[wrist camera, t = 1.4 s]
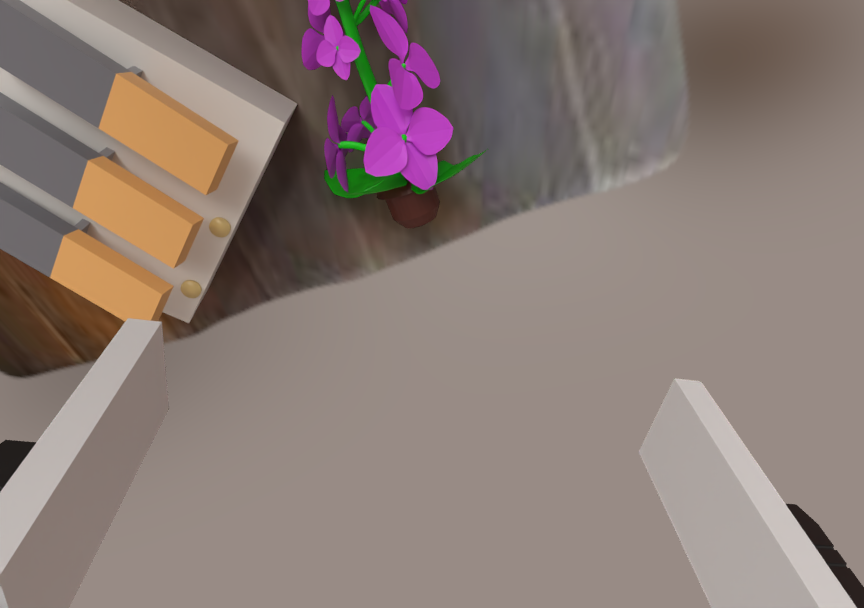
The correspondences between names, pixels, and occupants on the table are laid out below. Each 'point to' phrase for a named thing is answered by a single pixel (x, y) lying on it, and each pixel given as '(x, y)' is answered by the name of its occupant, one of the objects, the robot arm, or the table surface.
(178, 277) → the switch box
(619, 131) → the table surface
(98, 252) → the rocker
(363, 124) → the potted plant
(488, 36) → the table surface
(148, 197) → the rocker mid
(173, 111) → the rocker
